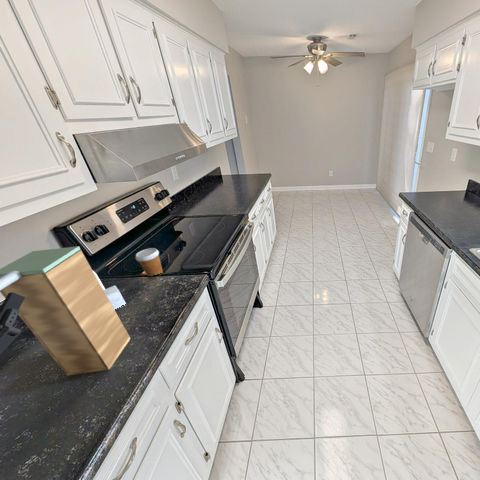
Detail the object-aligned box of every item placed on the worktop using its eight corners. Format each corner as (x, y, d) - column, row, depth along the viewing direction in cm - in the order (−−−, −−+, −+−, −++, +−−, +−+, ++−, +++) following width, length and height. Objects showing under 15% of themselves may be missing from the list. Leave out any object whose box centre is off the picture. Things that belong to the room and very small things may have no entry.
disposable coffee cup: (139, 278, 121) (129, 256, 116) (156, 267, 129) (147, 246, 124) (154, 280, 118) (144, 258, 113) (170, 269, 126) (162, 248, 121)
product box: (105, 306, 103) (96, 292, 100) (122, 298, 107) (115, 284, 104) (109, 313, 100) (100, 298, 96) (126, 304, 104) (119, 290, 100)
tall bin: (66, 375, 75) (-10, 280, 60) (93, 343, 86) (35, 254, 70) (109, 369, 76) (45, 273, 61) (130, 338, 87) (81, 249, 71)
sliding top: (-60, 310, 51) (-68, 301, 50) (35, 256, 71) (31, 249, 70) (5, 302, 52) (-2, 294, 51) (81, 251, 72) (77, 244, 70)
